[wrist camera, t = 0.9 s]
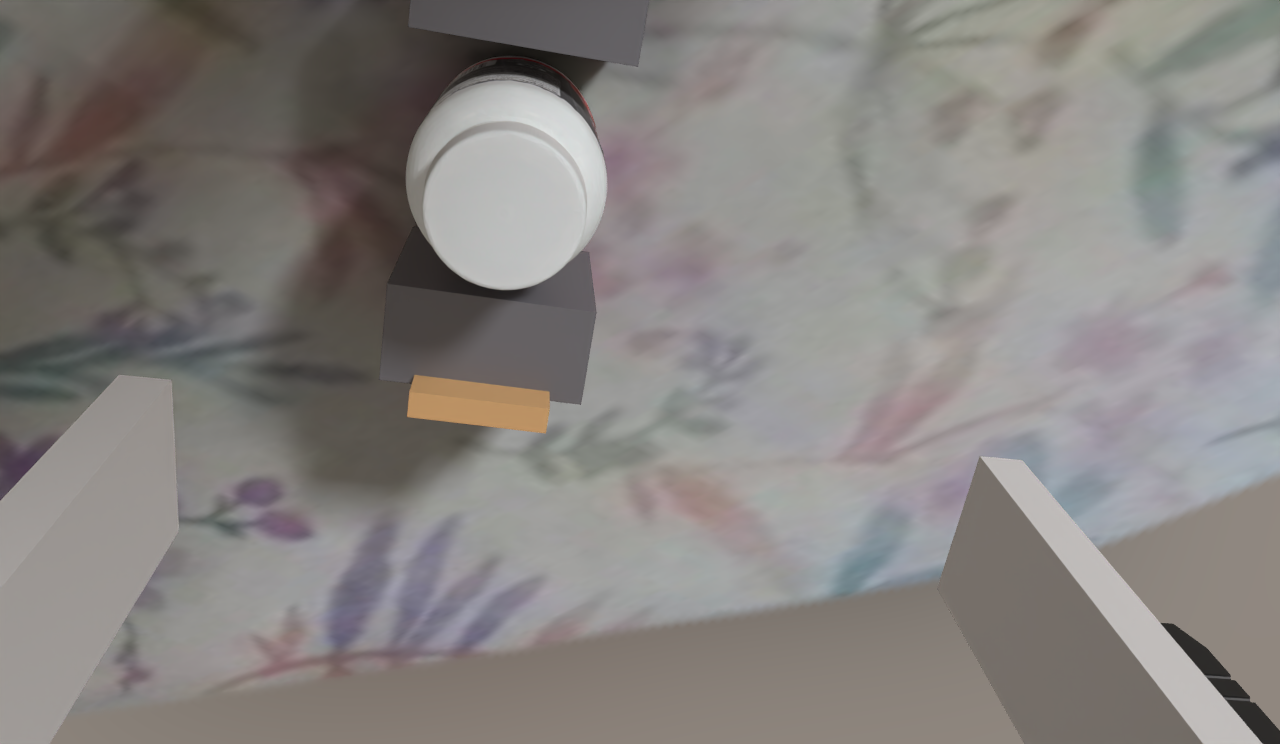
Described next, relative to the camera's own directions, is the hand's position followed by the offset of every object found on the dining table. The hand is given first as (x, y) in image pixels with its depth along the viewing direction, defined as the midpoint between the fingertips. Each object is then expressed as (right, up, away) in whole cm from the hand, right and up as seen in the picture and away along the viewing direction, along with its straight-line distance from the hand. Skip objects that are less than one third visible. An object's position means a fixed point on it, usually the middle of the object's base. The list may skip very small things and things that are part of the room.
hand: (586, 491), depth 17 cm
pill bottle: (-3, +10, +17) cm, 20 cm away
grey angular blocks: (-3, +10, +17) cm, 19 cm away
